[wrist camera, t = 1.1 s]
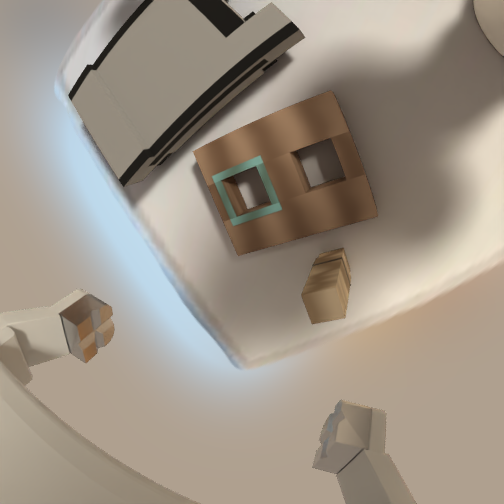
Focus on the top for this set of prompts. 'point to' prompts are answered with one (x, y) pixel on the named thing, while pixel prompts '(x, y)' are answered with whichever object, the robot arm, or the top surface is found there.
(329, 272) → the peg
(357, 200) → the board
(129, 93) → the game console
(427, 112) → the top surface
